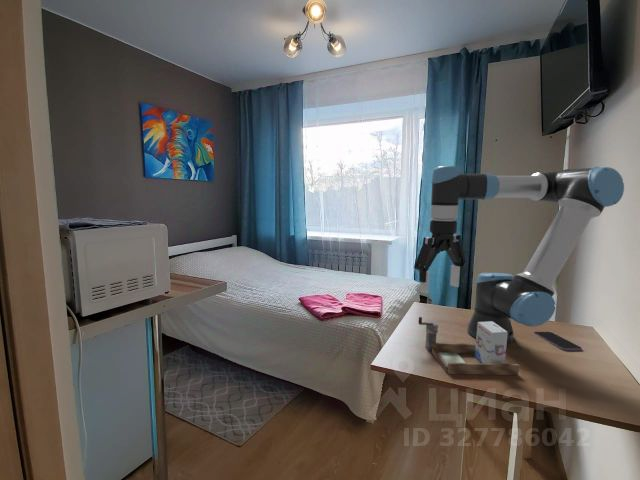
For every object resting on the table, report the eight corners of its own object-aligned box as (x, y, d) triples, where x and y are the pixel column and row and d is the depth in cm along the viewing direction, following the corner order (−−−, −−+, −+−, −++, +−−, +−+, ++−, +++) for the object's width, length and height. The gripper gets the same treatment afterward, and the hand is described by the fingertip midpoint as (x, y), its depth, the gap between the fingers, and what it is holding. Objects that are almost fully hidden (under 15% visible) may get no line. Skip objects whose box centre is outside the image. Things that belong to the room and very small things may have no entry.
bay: (487, 347, 114) (490, 317, 112) (518, 375, 97) (522, 339, 95) (415, 346, 114) (417, 315, 112) (432, 373, 97) (435, 337, 95)
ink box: (473, 356, 108) (476, 320, 106) (488, 356, 108) (492, 320, 106) (488, 370, 99) (492, 331, 97) (505, 370, 100) (509, 331, 98)
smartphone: (550, 331, 129) (583, 348, 114) (550, 334, 129) (583, 351, 114) (532, 331, 128) (563, 348, 113) (532, 334, 128) (562, 351, 113)
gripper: (460, 217, 110) (455, 280, 113) (403, 220, 97) (400, 292, 100) (481, 218, 104) (476, 286, 107) (423, 222, 91) (420, 299, 94)
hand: (439, 289), depth 104 cm, fingers open, 13 cm apart
